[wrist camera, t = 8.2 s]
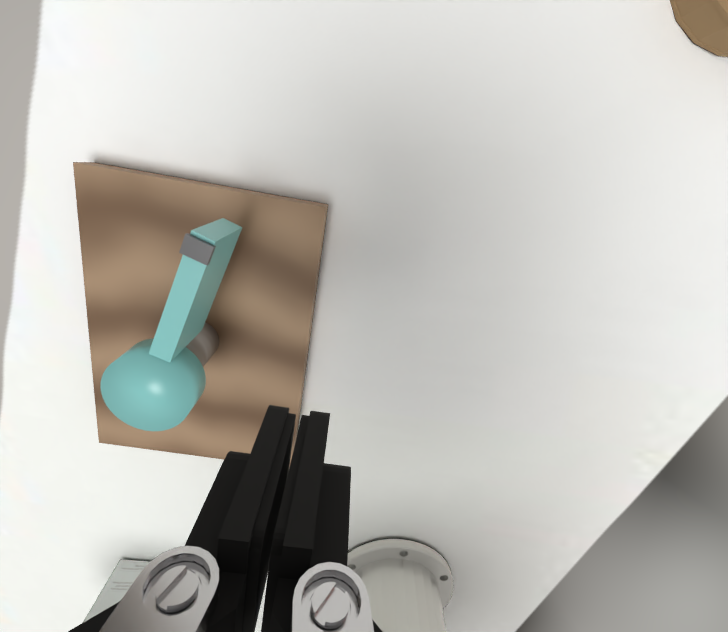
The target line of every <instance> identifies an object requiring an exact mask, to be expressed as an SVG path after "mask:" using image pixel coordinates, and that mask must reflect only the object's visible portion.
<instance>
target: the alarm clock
mask: <svg viewBox="0 0 728 632" xmlns="http://www.w3.org/2000/svg"><path fill="white" fill-rule="evenodd" d="M670 2H671V6H672V9H673V12H674V16H675V19H676V21H677V23H678V24H679V25H680V26H681V28H682V29H683V30H684V31H685V33H686V34H687V35H688V36H689V38H690V39H691V40H692V42H693V43H694V44H696V45H698V46H700V47H702V48H704V49H706V50H708V51H710V52H712V53H714V54H716V55H717V56H725V57H728V0H670Z"/></svg>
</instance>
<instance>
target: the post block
mask: <svg viewBox="0 0 728 632" xmlns="http://www.w3.org/2000/svg"><path fill="white" fill-rule="evenodd" d="M73 166H74V177H75V188H76V199H77V210H78V220H79V231H80V242H81V253H82V264H83V274H84V285H85V296H86V307H87V318H88V329H89V339H90V350H91V361H92V372H93V383H94V393H95V404H96V415H97V426H98V437H99V443H106V444H114V445H121V446H128V447H136V448H143V449H151V450H158V451H166V452H173V453H181V454H188V455H195V456H203V457H210V458H218V459H225V457H226V455H227V453H228V452H229V451H234V452H242V453H249V454H250V453H251V451H252V448H253V445H254V443H255V440H256V438H257V435H258V432H259V430H260V427H261V424H262V422H263V419H264V416H265V414H266V411H267V409H268V406H269V405H273V406H280V407H288V408H289V413H291V414H296V419H295V427H294V435H293V442H292V450H291V458H290V463H291V459H292V455H293V451H294V447H295V442H296V438H297V431H298V424H299V417H300V409H301V402H302V394H303V387H304V380H305V372H306V365H307V357H308V350H309V343H310V335H311V328H312V320H313V313H314V306H315V298H316V291H317V283H318V276H319V269H320V261H321V254H322V246H323V239H324V232H325V224H326V217H327V209H328V204H323V203H318V202H312V201H306V200H301V199H295V198H290V197H284V196H279V195H273V194H267V193H262V192H256V191H251V190H245V189H239V188H234V187H228V186H223V185H217V184H211V183H206V182H200V181H195V180H189V179H183V178H178V177H172V176H167V175H161V174H155V173H150V172H144V171H139V170H133V169H128V168H122V167H116V166H111V165H105V164H100V163H94V162H73ZM222 218H224V219H226V220H228V221H230V222H232V223H234V224H237V225H239V226H241V227H242V230H241V232H240V235H239V237H238V240H237V243H236V245H235V248H234V250H233V253H232V255H231V258H230V260H229V263H228V265H227V268H226V271H225V273H224V276H223V278H222V281H221V283H220V286H219V288H218V291H217V293H216V296H215V298H214V301H213V304H212V306H211V309H210V311H209V314H208V316H207V319H206V321H205V324H204V326H203V329H202V331H201V332H200V333H199V334H198V335H197V336H196V337H195V338H194V339H193V340H192V341H191V342H190V343H189V344H188V345H187V346H186V348H188V349H189V350H190V351H192V352H193V353H194V354H195V355H196V357H197V358H198V359H199V361H200V362H201V364H202V366H203V368H204V371H205V376H206V384H205V389H204V391H203V393H202V395H201V397H200V398H199V399H198V401H197V402H196V404H195V405H194V407H193V408H192V409H191V411H190V412H189V414H188V415H187V417H186V418H185V419H184V420H183V421H182V422H181V423H180V424H179V425H177V426H175V427H173V428H171V429H168V430H164V431H145V430H141V429H137V428H134V427H132V426H130V425H128V424H126V423H124V422H123V421H121V420H120V419H119V418H117V417H116V416H115V415H114V414H113V413H112V412H111V411H110V409H109V408H108V407H107V405H106V403H105V402H104V399H103V397H102V393H101V387H100V386H101V378H102V375H103V373H104V371H105V370H106V368H107V367H108V366H109V365H110V364H111V363H112V362H114V361H115V360H116V359H117V358H119V357H120V356H121V355H123V354H124V353H125V352H126V351H128V350H129V349H130V348H131V347H133V346H134V345H135V344H137V343H139V342H141V341H143V340H146V339H152V338H154V336H155V334H156V331H157V328H158V325H159V322H160V319H161V316H162V313H163V311H164V308H165V305H166V302H167V299H168V296H169V293H170V290H171V287H172V285H173V282H174V279H175V276H176V273H177V270H178V267H179V264H180V262H181V259H182V256H183V254H181V253H179V251H180V248H181V245H182V242H183V239H184V237H185V234H187V233H189V234H190V233H191V230H193V229H196V228H198V227H201V226H203V225H206V224H209V223H211V222H214V221H216V220H219V219H222ZM289 468H290V466H289Z"/></svg>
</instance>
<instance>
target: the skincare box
mask: <svg viewBox="0 0 728 632" xmlns="http://www.w3.org/2000/svg"><path fill="white" fill-rule="evenodd" d="M148 564H149V562H148V561H136V560H124V559H121V560H120V561H119V562H118V564H117V566H116V567H115V569H114V571H113V572H112V574H111V576H110V578H109V579H108V581H107V583H106V584H105V586H104V588H103V589H102V591H101V593H100V594H99V596H98V598H97V600H96V601H95V603H94V605H93V606H92V608H91V610H90V611H89V613H88V615H87V616H86V618H85V620H84V621H83V623H84V622H85V621H87V620H89V619H91V618H92V617H94V616H96V615H97V614H99V613H101V612H102V611H104V610H106V609H107V608H109V607H111V606H113V605H114V604H116V603H118V602H119V601H121V599H122V598H123V597H124V595H125V594H126V592H127V591H128V590H129V588H130V587H131V585H132V584H133V582H134V581H135V580H136V578H137V577H138V575H139V574H140V572H141V571H142V570H143V569H144V568H145V567H146V566H147V565H148Z"/></svg>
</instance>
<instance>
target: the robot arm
mask: <svg viewBox="0 0 728 632" xmlns="http://www.w3.org/2000/svg"><path fill="white" fill-rule="evenodd" d="M329 417H330V413H323V412H316V411H311V412H310V416H305V415H302V417H301V421H300V425H299V430H298V434H297V438H296V442H295V447H294V451H293V455H292V459H291V463H290V458H291V450H292V442H293V435H294V427H295V419H296V414H291V413H289V408H288V407H280V406H273V405H269V406H268V409H267V411H266V414H265V416H264V419H263V422H262V424H261V427H260V430H259V432H258V435H257V438H256V440H255V443H254V445H253V448H252V451H251V453H250V454H249V453H242V452H234V451H229V452H228V453H227V455H226V457H225V459H224V461H223V464H222V466H221V468H220V470H219V472H218V474H217V477H216V479H215V481H214V483H213V485H212V488H211V490H210V492H209V494H208V496H207V498H206V501H205V503H204V505H203V507H202V509H201V511H200V514H199V516H198V518H197V520H196V522H195V525H194V527H193V529H192V531H191V533H190V535H189V538H188V540H187V542H186V544H185V546H183V547H177V548H173V549H171V550H168V551H166V552H164V553H162V554H160V555H159V556H157V557H156V558H155V559H153V560H152V561H150V562H149V564H148V565H147V566H146V567H145V568H144V569H143V570H142V571H141V572H140V574H139V575H138V577H137V578H136V580H135V581H134V582H133V584H132V585H131V587H130V588H129V590H128V591H127V592H126V594H125V595H124V597H123V598H122V599H121V601H119V602H118V603H116V604H114V605H113V606H111V607H109V608H107V609H106V610H104V611H102V612H101V613H99V614H97V615H96V616H94V617H92V618H91V619H89V620H87V621H85V622H84V623H82V624H80V625H79V626H77V627H75V628H74V629H72V630H70V631H69V632H254V631H255V627H256V622H257V618H258V613H259V609H260V605H261V600H262V596H263V592H264V587H265V583H266V578H267V574H268V579H267V587H266V595H265V604H264V612H263V621H262V629H261V632H446V626H445V621H444V615H443V609H444V607H445V606H446V605H447V604H448V602H449V600H450V598H451V597H452V593H453V579H452V574H451V570H450V568H449V566H448V564H447V562H446V561H445V559H444V558H443V557H442V556H441V555H440V554H439V553H437V552H436V551H435V550H434V549H432V548H430V547H428V546H426V545H424V544H421V543H418V542H415V541H410V540H404V539H384V540H377V541H373V542H369V543H366V544H364V545H361V546H359V547H357V548H355V549H354V550H352V551H351V552H349V553H348V534H349V508H350V481H351V467H348V466H340V465H333V464H325V463H324V456H325V449H326V441H327V433H328V425H329ZM289 466H290V468H289Z"/></svg>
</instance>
